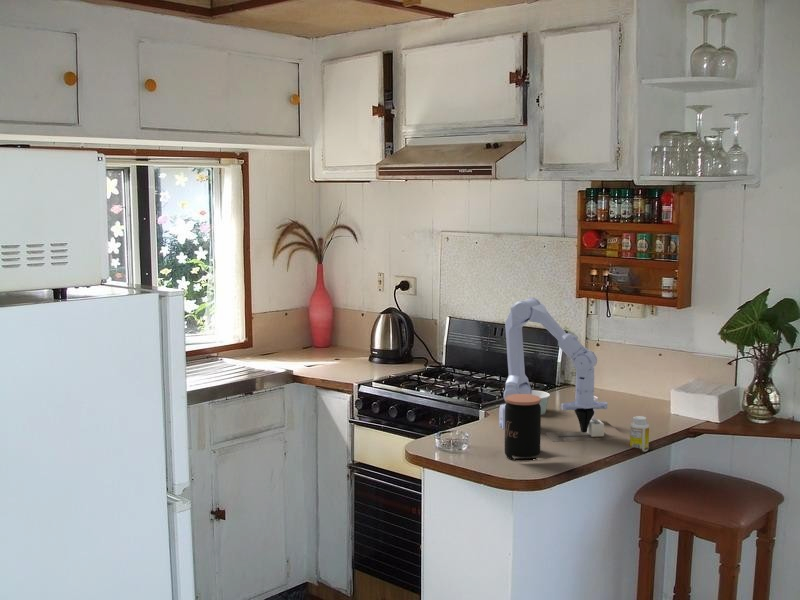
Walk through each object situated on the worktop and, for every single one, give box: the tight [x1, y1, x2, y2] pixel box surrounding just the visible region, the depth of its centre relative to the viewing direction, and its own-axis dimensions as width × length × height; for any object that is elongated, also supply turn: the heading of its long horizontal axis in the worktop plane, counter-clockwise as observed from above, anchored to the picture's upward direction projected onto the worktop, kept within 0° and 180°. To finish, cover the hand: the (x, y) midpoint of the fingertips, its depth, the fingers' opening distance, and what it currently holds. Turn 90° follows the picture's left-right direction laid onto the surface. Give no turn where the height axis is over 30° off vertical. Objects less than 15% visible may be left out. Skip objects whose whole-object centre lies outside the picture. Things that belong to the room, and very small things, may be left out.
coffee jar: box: [504, 394, 542, 461], centre depth 274 cm, size 11×11×18 cm
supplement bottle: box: [629, 415, 650, 453], centre depth 280 cm, size 6×6×10 cm
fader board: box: [545, 430, 613, 443], centre depth 291 cm, size 19×10×2 cm, turn 96°
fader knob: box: [587, 417, 605, 437], centre depth 291 cm, size 4×5×5 cm
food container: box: [531, 389, 551, 416], centre depth 327 cm, size 12×12×6 cm
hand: (583, 431), depth 291 cm, fingers closed
